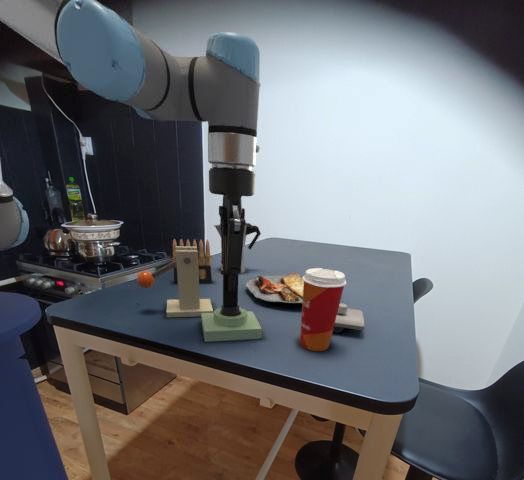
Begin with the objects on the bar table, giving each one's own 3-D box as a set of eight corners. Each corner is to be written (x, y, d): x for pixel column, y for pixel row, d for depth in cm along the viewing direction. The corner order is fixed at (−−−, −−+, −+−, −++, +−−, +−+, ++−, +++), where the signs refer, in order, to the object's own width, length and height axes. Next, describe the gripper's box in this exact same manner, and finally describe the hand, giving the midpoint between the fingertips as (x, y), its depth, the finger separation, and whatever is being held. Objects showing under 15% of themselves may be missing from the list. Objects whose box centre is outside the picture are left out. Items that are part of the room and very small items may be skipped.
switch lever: (142, 293, 67) (132, 278, 65) (144, 288, 70) (134, 273, 68) (197, 263, 67) (188, 248, 65) (196, 259, 70) (187, 244, 68)
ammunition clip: (211, 281, 94) (210, 239, 88) (211, 283, 92) (211, 240, 87) (174, 281, 91) (170, 238, 86) (174, 283, 90) (170, 239, 84)
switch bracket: (166, 317, 69) (160, 252, 62) (167, 304, 75) (162, 244, 69) (213, 315, 71) (212, 253, 64) (209, 303, 78) (208, 245, 71)
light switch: (360, 320, 73) (364, 300, 71) (362, 339, 65) (367, 316, 63) (317, 315, 75) (320, 294, 73) (314, 332, 67) (317, 309, 64)
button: (222, 318, 61) (222, 310, 60) (220, 311, 64) (220, 303, 63) (240, 318, 62) (241, 309, 61) (237, 311, 65) (238, 303, 64)
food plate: (237, 282, 94) (237, 271, 92) (308, 280, 101) (309, 269, 99) (263, 314, 73) (264, 300, 72) (350, 308, 80) (352, 295, 79)
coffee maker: (213, 273, 101) (212, 212, 93) (214, 266, 109) (214, 209, 101) (259, 275, 103) (262, 215, 94) (257, 268, 111) (260, 212, 102)
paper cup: (300, 332, 66) (309, 265, 59) (337, 340, 64) (350, 271, 57) (289, 348, 59) (297, 274, 53) (330, 358, 57) (344, 282, 50)
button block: (204, 341, 60) (204, 322, 58) (201, 322, 67) (200, 304, 65) (261, 338, 62) (262, 320, 60) (252, 320, 70) (252, 303, 68)
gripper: (264, 169, 46) (255, 317, 58) (247, 169, 57) (242, 294, 69) (212, 165, 45) (214, 319, 56) (205, 166, 56) (208, 294, 67)
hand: (230, 305), depth 62 cm, fingers closed
